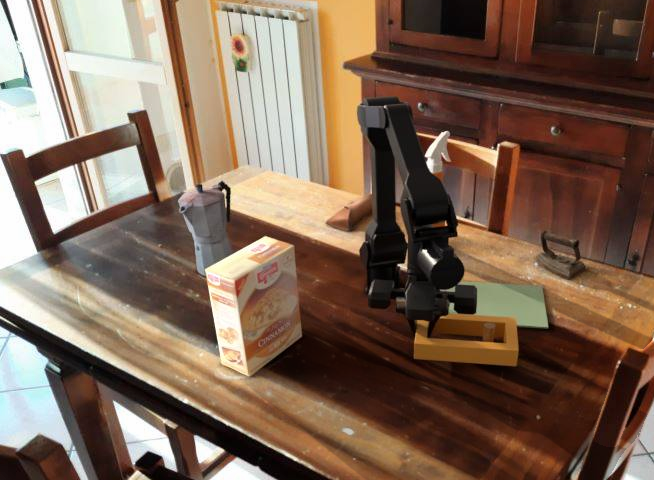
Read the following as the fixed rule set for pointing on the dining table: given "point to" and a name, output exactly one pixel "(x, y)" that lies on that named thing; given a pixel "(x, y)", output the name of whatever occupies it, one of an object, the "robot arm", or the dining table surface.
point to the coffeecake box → (255, 304)
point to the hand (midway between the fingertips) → (421, 336)
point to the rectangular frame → (468, 349)
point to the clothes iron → (560, 256)
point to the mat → (510, 302)
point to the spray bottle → (438, 158)
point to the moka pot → (208, 223)
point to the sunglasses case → (351, 213)
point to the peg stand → (489, 332)
